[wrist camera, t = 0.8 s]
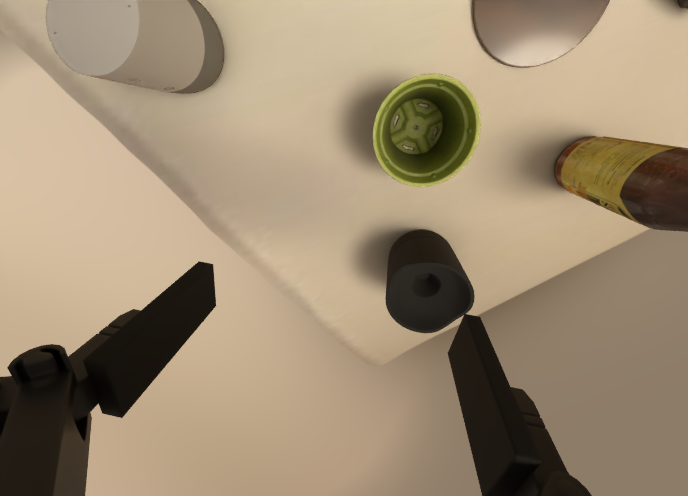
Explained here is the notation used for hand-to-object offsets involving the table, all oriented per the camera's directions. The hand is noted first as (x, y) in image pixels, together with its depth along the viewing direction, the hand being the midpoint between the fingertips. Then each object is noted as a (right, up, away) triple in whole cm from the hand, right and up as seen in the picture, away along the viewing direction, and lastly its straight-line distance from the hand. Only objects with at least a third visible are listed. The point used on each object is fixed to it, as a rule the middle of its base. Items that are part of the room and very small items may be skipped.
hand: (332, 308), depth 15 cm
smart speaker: (-17, +26, +18) cm, 36 cm away
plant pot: (+9, +17, +19) cm, 27 cm away
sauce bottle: (+28, +13, +18) cm, 36 cm away
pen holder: (+11, +2, +26) cm, 28 cm away
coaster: (+19, +27, +12) cm, 35 cm away
